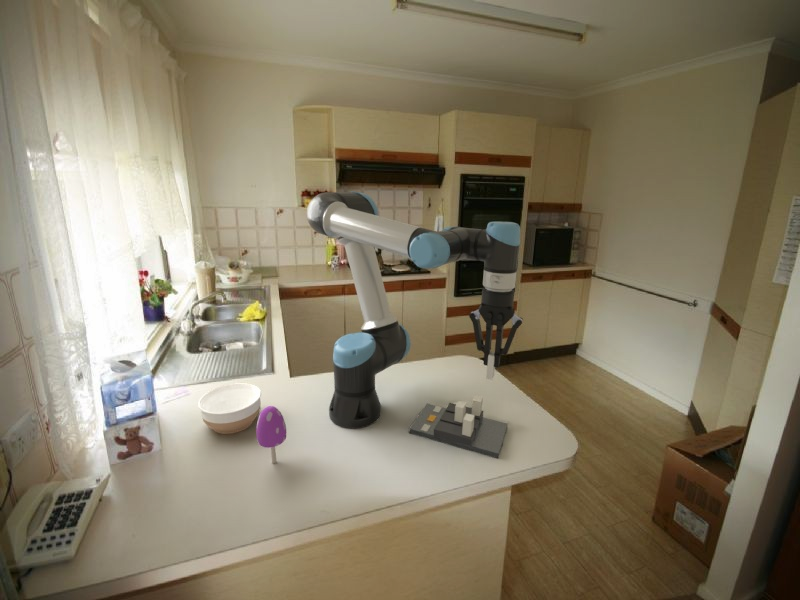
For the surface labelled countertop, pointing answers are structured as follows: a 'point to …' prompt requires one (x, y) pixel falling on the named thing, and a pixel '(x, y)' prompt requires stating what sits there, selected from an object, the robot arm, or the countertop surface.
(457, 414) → the handle
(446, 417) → the breaker housings
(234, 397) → the bowl
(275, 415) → the toy
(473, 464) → the countertop surface
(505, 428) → the panel
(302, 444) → the countertop surface
